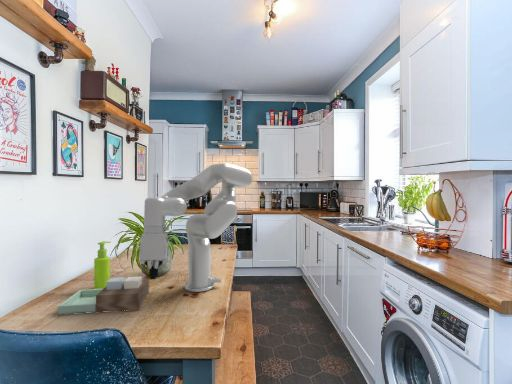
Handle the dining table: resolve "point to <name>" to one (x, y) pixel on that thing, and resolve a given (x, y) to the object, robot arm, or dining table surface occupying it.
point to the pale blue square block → (115, 283)
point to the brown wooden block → (122, 298)
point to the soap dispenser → (101, 267)
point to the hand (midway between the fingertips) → (153, 278)
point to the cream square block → (132, 282)
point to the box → (80, 302)
